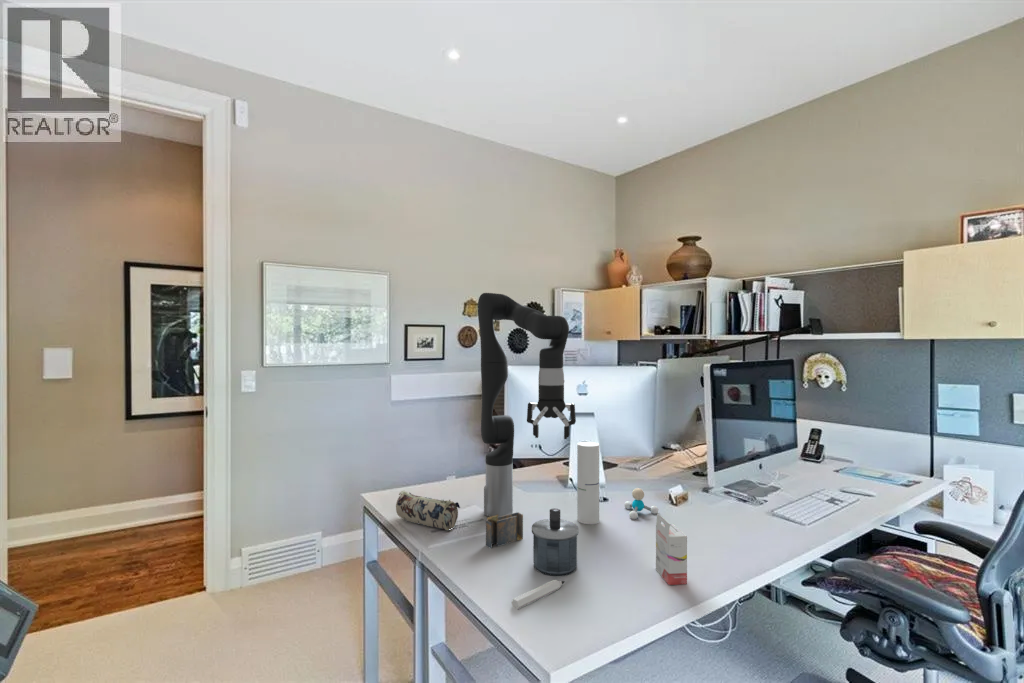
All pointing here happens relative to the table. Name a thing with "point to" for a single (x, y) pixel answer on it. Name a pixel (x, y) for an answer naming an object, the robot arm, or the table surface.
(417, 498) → the pencil case
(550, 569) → the pot
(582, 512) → the cylindrical container
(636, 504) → the molecule model
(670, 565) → the ink cartridge box
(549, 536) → the lid
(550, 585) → the marker
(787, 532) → the table surface
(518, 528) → the weathered rectangular holder
